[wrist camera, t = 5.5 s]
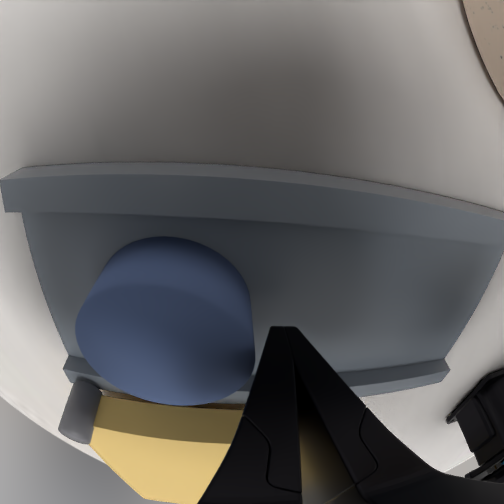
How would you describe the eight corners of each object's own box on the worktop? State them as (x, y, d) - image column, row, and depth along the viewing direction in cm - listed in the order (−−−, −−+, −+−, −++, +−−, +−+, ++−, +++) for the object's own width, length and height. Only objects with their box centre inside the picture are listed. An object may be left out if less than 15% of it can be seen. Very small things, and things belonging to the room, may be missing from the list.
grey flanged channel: (510, 214, 9) (528, 227, 7) (432, 365, 13) (441, 381, 12) (21, 167, 7) (-1, 180, 6) (78, 362, 11) (70, 382, 10)
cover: (250, 489, 19) (252, 513, 17) (143, 481, 18) (141, 504, 16) (290, 398, 11) (299, 451, 9) (69, 378, 10) (52, 423, 8)
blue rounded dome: (256, 238, 8) (263, 287, 6) (247, 358, 11) (250, 407, 9) (85, 235, 8) (51, 278, 6) (118, 350, 10) (104, 396, 8)
